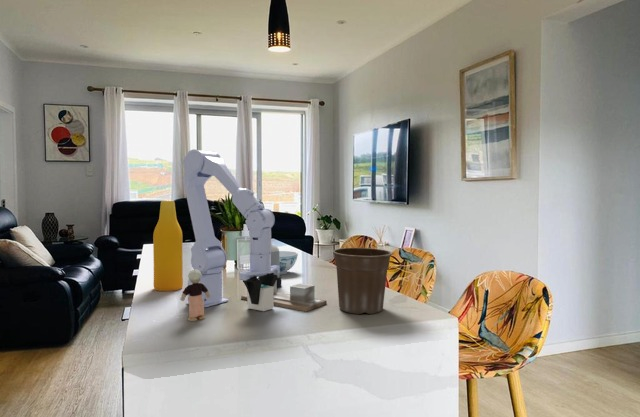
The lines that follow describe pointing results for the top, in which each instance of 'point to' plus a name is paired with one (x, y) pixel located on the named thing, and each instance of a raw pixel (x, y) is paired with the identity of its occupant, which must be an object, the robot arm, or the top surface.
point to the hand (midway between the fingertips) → (260, 302)
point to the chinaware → (286, 260)
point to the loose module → (262, 299)
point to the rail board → (292, 305)
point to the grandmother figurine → (195, 296)
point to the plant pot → (361, 279)
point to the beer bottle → (168, 250)
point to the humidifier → (275, 261)
